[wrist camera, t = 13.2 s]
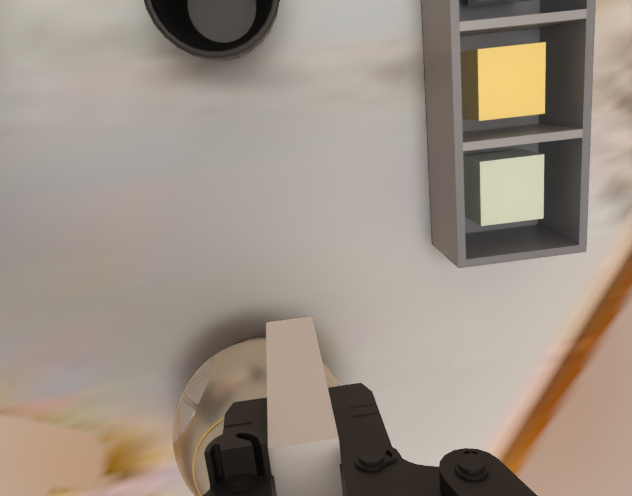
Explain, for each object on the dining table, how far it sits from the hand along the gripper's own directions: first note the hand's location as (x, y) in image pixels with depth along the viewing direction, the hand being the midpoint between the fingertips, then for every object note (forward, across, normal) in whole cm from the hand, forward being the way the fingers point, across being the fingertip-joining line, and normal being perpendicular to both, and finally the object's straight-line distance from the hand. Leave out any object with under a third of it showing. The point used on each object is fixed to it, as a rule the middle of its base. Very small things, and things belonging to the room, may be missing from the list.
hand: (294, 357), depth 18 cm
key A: (+28, +18, -1) cm, 33 cm away
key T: (+28, +18, +7) cm, 34 cm away
